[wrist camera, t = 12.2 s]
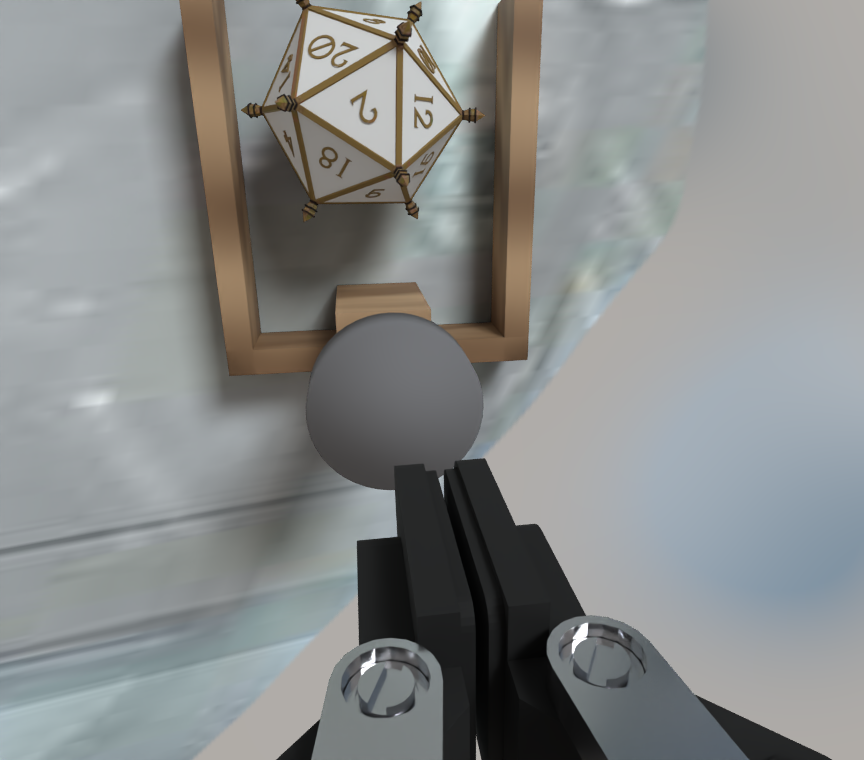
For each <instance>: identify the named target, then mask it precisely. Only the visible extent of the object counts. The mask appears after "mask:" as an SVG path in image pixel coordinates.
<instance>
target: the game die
mask: <svg viewBox="0 0 864 760" xmlns="http://www.w3.org/2000/svg"><path fill="white" fill-rule="evenodd" d="M296 1H297V2H296V4H299V5H300V7H301V8H302V10H303V11H302V14H301V16H300V18H299V21H298V23H297V25H296V28H295V30H294V32H293V35H292V37H291V40H290V42H289V44H288V47H287V49H286V51H285V54H284V56H283V58H282V61H281V63H280V65H279V68H278V70H277V72H276V75H275V77H274V79H273V82H272V84H271V86H270V89H269V91H268V93H267V96H266V98H265V101H264V103H263V105H262V106H259V105H257V103H255V104H251V103H249V104H248V105H247V106H246V107H245V108H243V109H241V111H243V112H244V113H246V114H247V115H249V116H250V118H252V117H256V118H258V116H260V115H263V116H264V118H265V119H266V121H267V123H268V125H269V126H270V128H271V130H272V132H273V134H274V135H275V137H276V139H277V141H278V143H279V144H280V146H281V148H282V150H283V151H284V153H285V155H286V157H287V159H288V160H289V162H290V164H291V166H292V168H293V169H294V171H295V173H296V175H297V176H298V178H299V180H300V182H301V184H302V185H303V187H304V189H305V191H306V193H307V194H308V196H309V198H310V202H309V203H308V204H307V205H306V204H305V208H304V210H303V209H302V211H303V221H304V222H305V221H307V220H309V219H310V218H312V217H315V216H314V214H315V212H317V210H316V209H317V205H318V204H384V203H405V204H406V210H407V211H408V215H411V216H413V217H415V218H416V219H418V211H419V207H418V208H417V206H416V203H414V202H413V201H412V198H413V197H414V195H415V193H416V192H417V190H418V189H419V187H420V186H421V184H422V182H423V181H424V179H425V178H426V176H427V175H428V173H429V171H430V170H431V168H432V167H433V165H434V164H435V162H436V160H437V159H438V157H439V156H440V154H441V152H442V151H443V149H444V148H445V146H446V145H447V143H448V141H449V140H450V138H451V137H452V135H453V134H454V132H455V130H456V129H457V127H458V126H459V124H460V123H461V121H462V120H467V121H469V123H470V121H472V122H474V123H476V121H478V120H479V119H481V118H483V117H484V116H485V115H484V114H482V113H481V112H480V111H478V110H477V109H476V108H475V109H471V108H469V109H468V110H465V111H464V110H462V109H461V107H460V105H459V103H458V102H457V100H456V98H455V96H454V94H453V93H452V91H451V89H450V87H449V85H448V84H447V82H446V80H445V78H444V77H443V75H442V73H441V71H440V69H439V68H438V66H437V64H436V62H435V60H434V59H433V57H432V55H431V53H430V52H429V50H428V48H427V46H426V44H425V43H424V41H423V39H422V37H421V35H420V34H419V32H418V30H417V28H416V26H415V25H414V23H415V22H417V21H419V17H420V16H422V10H421V2H419V3H418V4H416V5H412V6H410V11H408V12H407V13H408V18H407V19H403V18H396V17H389V16H382V15H375V14H368V13H361V12H354V11H347V10H340V9H333V8H326V7H319V6H312V5H311V4H310V3H309V0H296Z"/></svg>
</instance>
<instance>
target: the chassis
mask: <svg viewBox="0 0 864 760" xmlns="http://www.w3.org/2000/svg"><path fill="white" fill-rule="evenodd" d="M179 1H180V9H181V16H182V24H183V31H184V39H185V46H186V54H187V61H188V69H189V76H190V84H191V91H192V99H193V106H194V114H195V121H196V129H197V136H198V144H199V151H200V159H201V166H202V174H203V181H204V189H205V196H206V204H207V211H208V219H209V226H210V234H211V241H212V249H213V256H214V264H215V271H216V279H217V286H218V294H219V301H220V309H221V316H222V324H223V331H224V339H225V346H226V354H227V361H228V369H229V376H236V375H255V374H273V373H292V372H310V371H312V369H313V366H314V364H315V361H316V359H317V357H318V355H319V354H320V352H321V350H322V349H323V347H324V346H325V345H326V344H327V342H328V341H329V340H330V339H331V338H332V337H333V336H334V335H335V334H336V333H337V332H339V331H340V330H341V329H343V328H344V327H346V326H347V325H349V324H351V323H353V322H355V321H356V320H359V319H362V318H364V317H367V316H371V315H375V314H380V313H389V312H390V313H406V314H412V315H416V316H419V317H423V318H425V319H427V320H430V321H431V309H430V307H429V305H428V304H427V302H426V300H425V298H424V296H423V295H422V293H421V291H420V289H419V287H418V286H417V284H416V282H411V283H385V284H358V285H337V294H336V310H335V316H336V329H335V330H313V331H292V332H270V333H261V328H260V319H259V310H258V301H257V293H256V284H255V275H254V266H253V257H252V248H251V239H250V230H249V221H248V212H247V203H246V194H245V185H244V176H243V167H242V158H241V149H240V140H239V132H238V123H237V114H236V105H235V96H234V87H233V78H232V69H231V60H230V51H229V42H228V33H227V24H226V15H225V6H224V0H179ZM542 11H543V0H501V1H500V2H499V3H498V17H497V63H496V110H495V157H494V204H493V250H492V297H491V322H486V323H464V324H443V325H439V326H440V327H442V328H443V329H444V330H446V331H447V332H448V333H449V334H450V335H451V336H452V337H453V338H454V339H455V340H456V341H457V342H458V344H459V345H460V347H461V348H462V349H463V351H464V353H465V354H466V356H467V358H468V359H469V361H470V362H471V363H476V362H494V361H513V360H527V357H528V334H529V311H530V288H531V265H532V242H533V218H534V195H535V172H536V149H537V126H538V103H539V80H540V57H541V34H542Z"/></svg>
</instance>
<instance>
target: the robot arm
mask: <svg viewBox="0 0 864 760" xmlns="http://www.w3.org/2000/svg"><path fill="white" fill-rule="evenodd" d="M394 480H395V499H396V518H397V537H392V538H381V539H371V540H360V541H357V568H358V612H359V613H358V614H359V646H357V647H356V648H354V649H353V650H351V651H350V652H348V653H347V654H345V655H344V656H343V658H342V659H341V660H340V661H339V662H338V663H337V665H336V666H335V667H334V670H333V672H332V674H331V677H330V679H329V683H328V687H327V692H326V697H325V701H324V705H323V710H322V714H321V719H320V720H319V721H318V722H316V723H315V724H314V725H313V726H312V727H311V728H310V729H309V730H308V731H307V732H306V733H305V734H304V735H303V736H301V738H299V739H298V740H297V741H296V742H295V743H294V744H293V745H292V746H291V747H290V748H288V749H287V750H286V751H285V752H284V753H283V754H282V755H281V756H280V757H279V758H278V759H277V760H476V736H477V741H478V746H479V750H480V755H481V759H482V760H832V759H830V758H828V757H826V756H825V755H822V754H820V753H818V752H816V751H814V750H812V749H810V748H808V747H805V746H803V745H801V744H799V743H797V742H795V741H793V740H790V739H788V738H786V737H784V736H782V735H780V734H778V733H775V732H773V731H771V730H769V729H767V728H765V727H763V726H761V725H758V724H756V723H754V722H752V721H750V720H748V719H746V718H743V717H741V716H739V715H737V714H735V713H733V712H731V711H729V710H726V709H724V708H722V707H720V706H717V705H716V704H714V703H712V702H709V701H707V700H705V699H703V698H701V697H699V696H697V695H694V693H692V691H691V690H690V689H689V688H688V686H687V685H686V684H685V683H684V682H683V680H682V679H681V678H680V677H679V676H678V674H677V673H676V672H675V671H674V670H673V668H672V667H671V666H670V665H669V664H668V662H667V661H666V660H665V659H664V658H663V657H662V655H661V654H660V653H659V652H658V651H657V649H656V648H655V647H654V646H653V645H652V643H650V641H649V640H648V639H646V638H645V637H644V636H643V635H642V634H641V633H640V632H639V631H638V630H636V629H634V628H632V627H631V626H629V625H627V624H625V623H624V622H621V621H618V620H614V619H611V618H608V617H601V616H592V615H590V616H586V615H585V613H584V611H583V609H582V607H581V605H580V603H579V601H578V599H577V597H576V595H575V593H574V592H573V590H572V588H571V586H570V584H569V582H568V580H567V578H566V576H565V574H564V572H563V570H562V568H561V567H560V565H559V563H558V561H557V559H556V557H555V555H554V553H553V551H552V549H551V547H550V545H549V544H548V542H547V540H546V538H545V536H544V534H543V532H542V530H541V529H540V527H539V526H538V525H537V524H529V525H518V526H516V525H515V523H514V521H513V519H512V516H511V514H510V512H509V510H508V508H507V505H506V503H505V501H504V499H503V497H502V495H501V492H500V490H499V488H498V486H497V483H496V481H495V479H494V477H493V475H492V472H491V471H490V468H489V466H488V464H487V461H486V460H485V458H483V459H471V460H459V461H455V463H454V469H445V470H444V497H443V494H442V490H441V486H440V483H439V479H438V476H437V472H436V470H432V471H426V470H425V466H424V464H411V465H398V466H394Z"/></svg>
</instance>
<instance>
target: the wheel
mask: <svg viewBox="0 0 864 760" xmlns="http://www.w3.org/2000/svg"><path fill="white" fill-rule="evenodd" d="M482 417H483V394H482V388H481V384H480V381H479V378H478V376H477V374H476V372H475V370H474V368H473V366H472V364H471V362H470V361H469V359H468V358H467V356H466V354H465V353H464V351H463V349H462V348H461V347H460V345H459V344H458V342H457V341H456V340H455V339H454V338H453V337H452V336H451V335H450V334H449V333H448V332H447V331H446V330H444V329H443V328H442V327H440V326H439V325H437V324H435V323H434V322H432V321H430V320H427V319H425V318H423V317H419V316H416V315H412V314H406V313H390V312H389V313H380V314H375V315H371V316H367V317H364V318H362V319H359V320H356V321H355V322H353V323H351V324H349V325H347V326H346V327H344V328H343V329H341V330H340V331H339V332H337V333H336V334H335V335H334V336H333V337H332V338H331V339H330V340H329V341H328V342H327V344H326V345H325V346H324V347H323V349H322V350H321V352H320V354H319V355H318V357H317V359H316V361H315V364H314V366H313V369H312V373H311V376H310V382H309V388H308V395H307V402H306V420H307V426H308V430H309V433H310V437H311V439H312V441H313V443H314V446H315V448H316V449H317V451H318V452H319V454H320V455H321V457H322V458H323V459H324V460H325V461H326V463H327V464H328V465H329V466H330V467H332V468H333V469H334V470H335V471H336V472H337V473H339V474H340V475H342V476H343V477H345V478H347V479H349V480H351V481H353V482H355V483H357V484H360V485H363V486H366V487H370V488H375V489H383V490H395V480H394V466H398V465H411V464H424V466H425V470H426V471H432V470H436V472H437V476H438V478H439V477H441V476H442V475H444V470H445V469H452V468H453V467H454V463H455V461H459V460H462V458H463V457H464V456H465V455H466V454H467V452H468V451H469V449H470V448H471V447H472V445H473V443H474V441H475V439H476V437H477V435H478V432H479V429H480V426H481V422H482Z"/></svg>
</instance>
